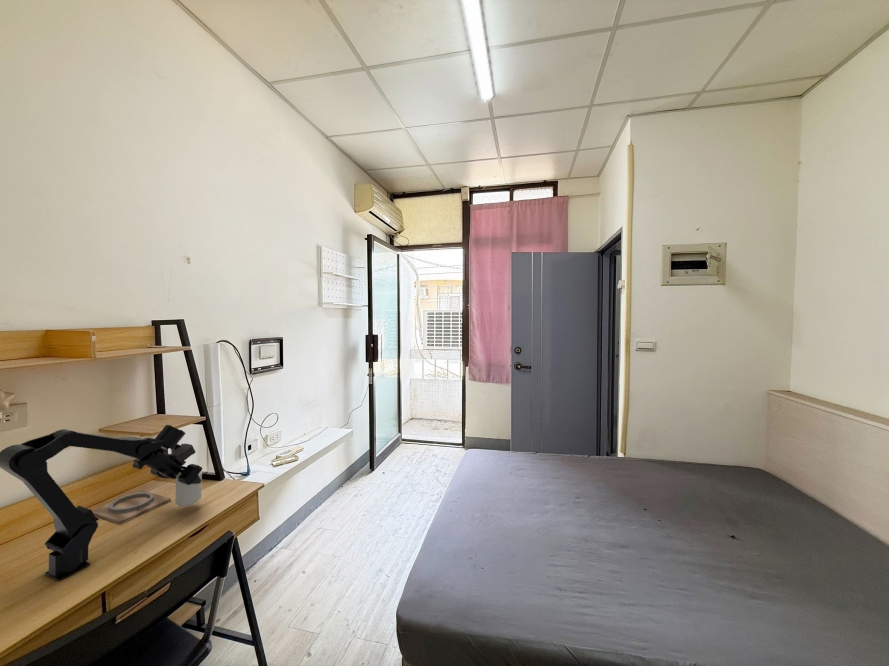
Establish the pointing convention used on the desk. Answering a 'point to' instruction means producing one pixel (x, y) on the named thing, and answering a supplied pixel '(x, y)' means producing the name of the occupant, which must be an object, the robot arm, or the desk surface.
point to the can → (187, 492)
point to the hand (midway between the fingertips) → (192, 480)
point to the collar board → (128, 504)
